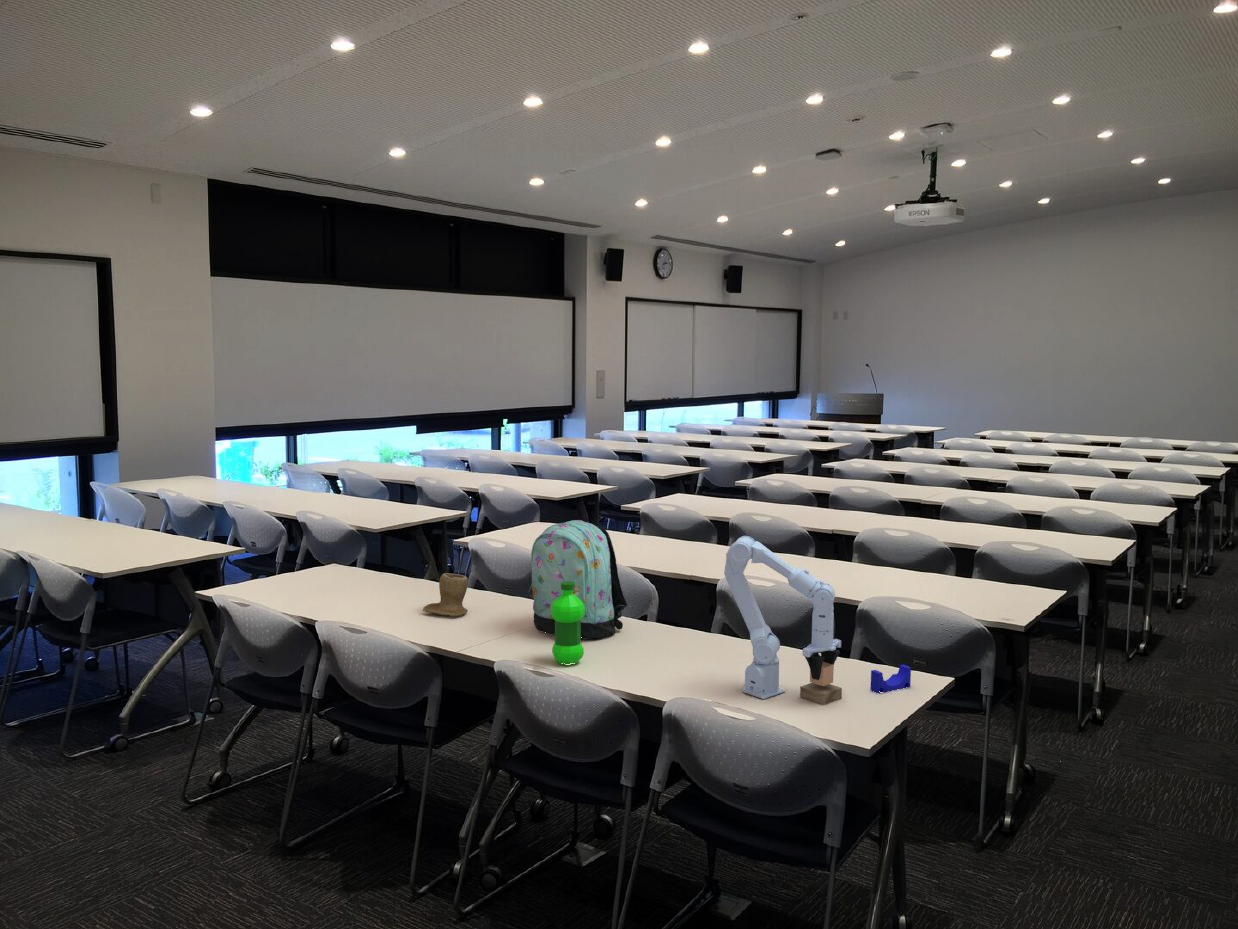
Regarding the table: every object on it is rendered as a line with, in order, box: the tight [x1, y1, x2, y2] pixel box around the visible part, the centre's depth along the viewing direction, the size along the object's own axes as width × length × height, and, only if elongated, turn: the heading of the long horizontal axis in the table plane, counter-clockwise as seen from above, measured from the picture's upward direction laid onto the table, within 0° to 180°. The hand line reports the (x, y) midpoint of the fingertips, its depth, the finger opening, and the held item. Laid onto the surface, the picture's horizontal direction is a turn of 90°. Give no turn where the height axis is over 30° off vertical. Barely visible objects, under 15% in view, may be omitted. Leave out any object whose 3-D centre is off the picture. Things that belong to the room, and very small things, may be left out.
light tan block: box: [809, 662, 835, 686], centre depth 261 cm, size 4×4×5 cm
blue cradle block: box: [870, 664, 912, 694], centre depth 269 cm, size 12×4×6 cm, turn 116°
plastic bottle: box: [551, 582, 585, 664], centre depth 290 cm, size 10×10×25 cm
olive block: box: [799, 682, 843, 706], centre depth 262 cm, size 8×8×3 cm
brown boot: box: [422, 572, 469, 617], centre depth 346 cm, size 15×12×15 cm
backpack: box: [527, 519, 628, 640], centre depth 321 cm, size 32×24×39 cm
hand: (821, 677), depth 261 cm, fingers closed on light tan block, 4 cm apart
